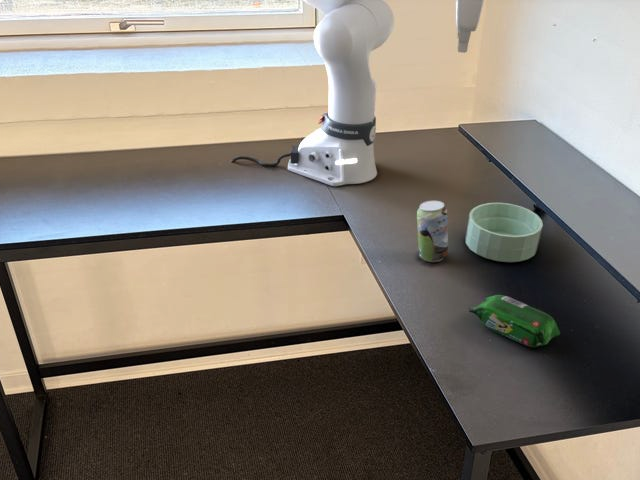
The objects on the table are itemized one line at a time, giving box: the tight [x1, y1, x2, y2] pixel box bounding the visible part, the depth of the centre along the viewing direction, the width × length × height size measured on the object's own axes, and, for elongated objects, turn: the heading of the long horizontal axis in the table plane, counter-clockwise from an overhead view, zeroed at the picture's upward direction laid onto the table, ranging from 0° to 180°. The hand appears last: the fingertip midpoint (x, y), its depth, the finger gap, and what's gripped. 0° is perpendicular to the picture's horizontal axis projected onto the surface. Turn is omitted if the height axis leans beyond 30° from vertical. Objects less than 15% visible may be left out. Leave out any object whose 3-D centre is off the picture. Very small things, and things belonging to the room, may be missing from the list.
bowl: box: [465, 202, 544, 263], centre depth 155 cm, size 15×15×6 cm
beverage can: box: [416, 200, 449, 263], centre depth 148 cm, size 6×7×12 cm
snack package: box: [468, 294, 561, 348], centre depth 130 cm, size 7×16×5 cm, turn 52°
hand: (461, 44), depth 139 cm, fingers open, 8 cm apart
